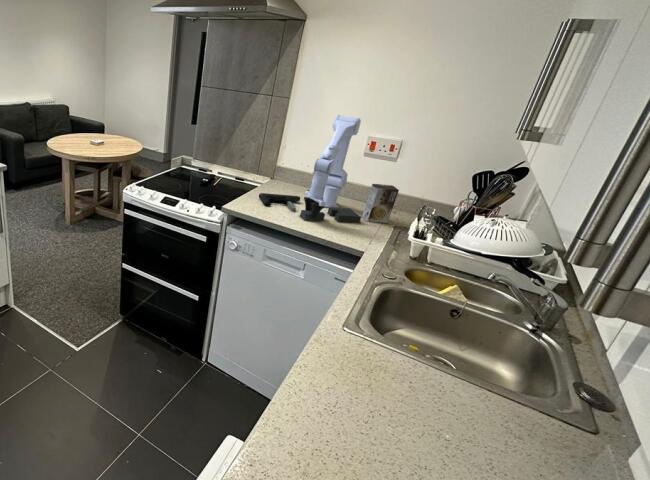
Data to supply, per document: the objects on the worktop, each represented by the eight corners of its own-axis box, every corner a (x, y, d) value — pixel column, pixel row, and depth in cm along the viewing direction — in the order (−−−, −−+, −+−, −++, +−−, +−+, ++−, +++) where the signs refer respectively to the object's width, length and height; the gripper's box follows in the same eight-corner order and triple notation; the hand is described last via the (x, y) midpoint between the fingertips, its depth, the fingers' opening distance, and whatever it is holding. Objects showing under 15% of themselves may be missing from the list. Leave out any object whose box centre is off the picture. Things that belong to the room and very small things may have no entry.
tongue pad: (299, 215, 176) (301, 209, 175) (319, 217, 177) (321, 210, 175) (304, 220, 171) (306, 214, 170) (324, 221, 172) (326, 215, 171)
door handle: (309, 207, 180) (298, 194, 194) (265, 204, 180) (258, 191, 194) (307, 214, 181) (296, 200, 196) (264, 210, 181) (256, 197, 196)
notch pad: (327, 213, 182) (328, 207, 181) (347, 214, 183) (349, 208, 182) (337, 221, 173) (339, 215, 172) (359, 223, 174) (361, 216, 172)
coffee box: (381, 218, 182) (392, 185, 175) (387, 223, 176) (400, 189, 169) (361, 216, 182) (372, 183, 176) (367, 221, 176) (378, 187, 170)
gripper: (302, 180, 174) (295, 209, 180) (316, 191, 161) (308, 221, 166) (317, 181, 175) (310, 209, 180) (333, 192, 161) (324, 222, 167)
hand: (310, 215), depth 173 cm, fingers closed on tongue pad, 5 cm apart
